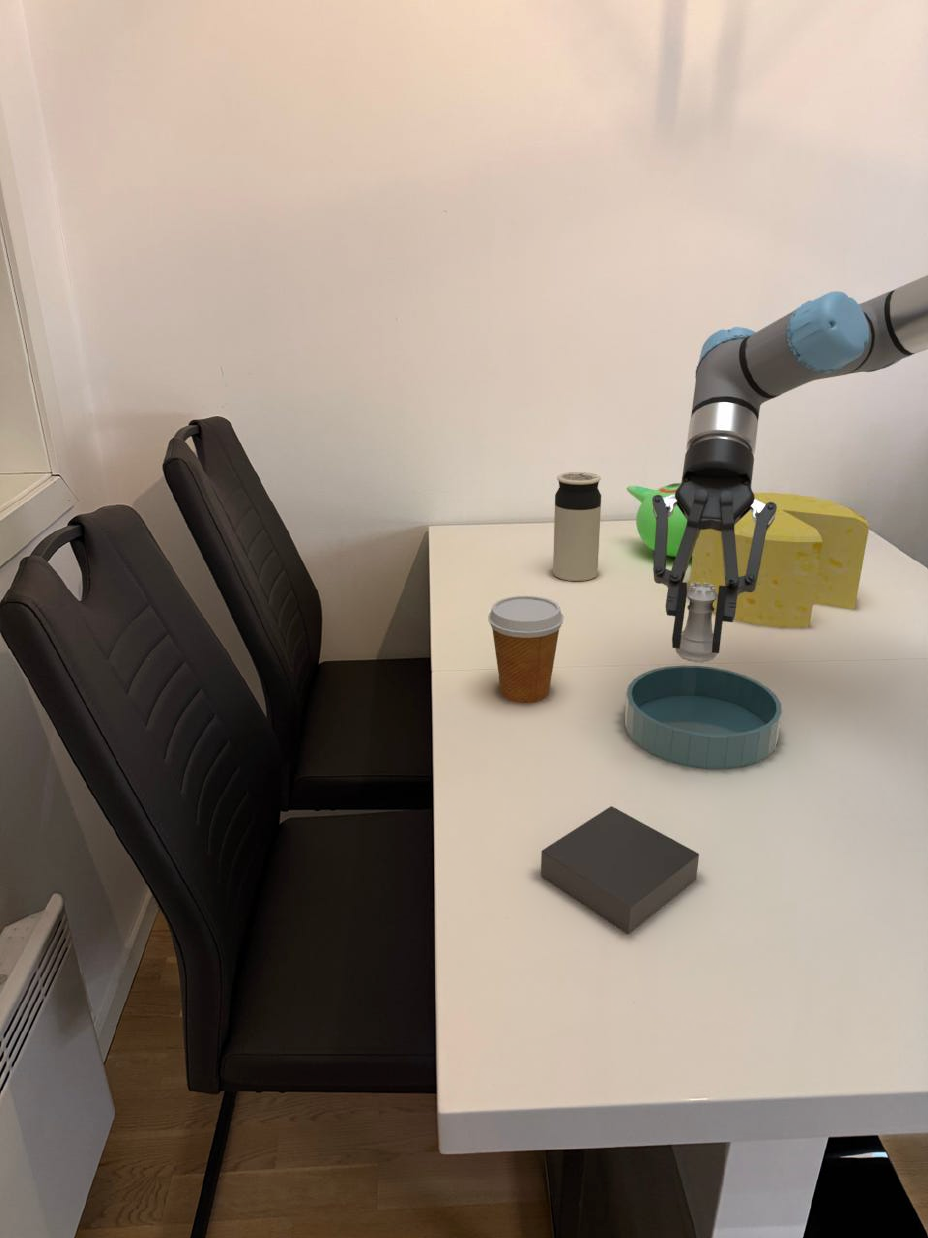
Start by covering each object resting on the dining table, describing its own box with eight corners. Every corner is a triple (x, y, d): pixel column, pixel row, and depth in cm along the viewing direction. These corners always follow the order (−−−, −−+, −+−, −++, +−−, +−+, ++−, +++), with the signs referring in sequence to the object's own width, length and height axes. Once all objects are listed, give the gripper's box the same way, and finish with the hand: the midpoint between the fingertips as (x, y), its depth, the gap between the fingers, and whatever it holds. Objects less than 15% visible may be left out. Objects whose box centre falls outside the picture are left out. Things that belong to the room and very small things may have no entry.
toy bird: (656, 572, 152) (662, 493, 146) (618, 545, 167) (623, 472, 161) (745, 563, 155) (755, 485, 150) (701, 537, 171) (708, 465, 165)
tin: (810, 750, 96) (815, 717, 94) (681, 784, 90) (685, 750, 88) (713, 685, 111) (716, 655, 109) (597, 711, 105) (599, 680, 103)
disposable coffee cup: (491, 675, 115) (490, 593, 110) (561, 677, 114) (563, 595, 109) (485, 709, 106) (485, 622, 101) (561, 711, 105) (564, 624, 100)
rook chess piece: (723, 663, 89) (731, 593, 86) (682, 664, 89) (688, 594, 86) (709, 645, 94) (716, 578, 90) (670, 647, 93) (675, 580, 90)
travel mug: (587, 585, 146) (591, 484, 139) (545, 578, 150) (548, 479, 143) (604, 571, 153) (609, 474, 146) (563, 565, 156) (566, 469, 149)
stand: (696, 880, 76) (699, 853, 75) (628, 936, 70) (630, 907, 69) (609, 830, 83) (611, 805, 82) (540, 877, 77) (541, 850, 76)
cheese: (873, 633, 126) (891, 537, 120) (693, 623, 130) (703, 530, 124) (835, 574, 149) (848, 491, 143) (684, 567, 154) (691, 487, 148)
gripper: (792, 476, 96) (775, 667, 88) (647, 468, 101) (619, 649, 93) (800, 438, 89) (783, 641, 81) (645, 431, 94) (613, 623, 86)
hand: (695, 645), depth 87 cm, fingers closed on rook chess piece, 3 cm apart
